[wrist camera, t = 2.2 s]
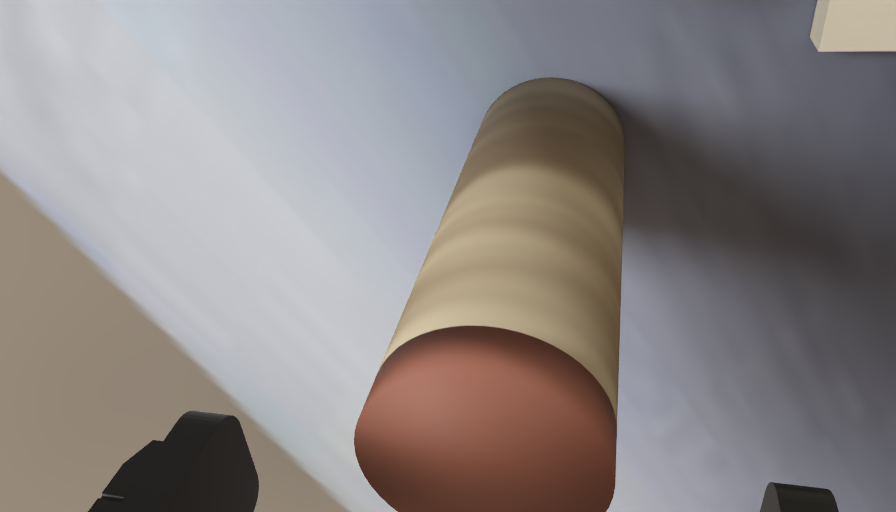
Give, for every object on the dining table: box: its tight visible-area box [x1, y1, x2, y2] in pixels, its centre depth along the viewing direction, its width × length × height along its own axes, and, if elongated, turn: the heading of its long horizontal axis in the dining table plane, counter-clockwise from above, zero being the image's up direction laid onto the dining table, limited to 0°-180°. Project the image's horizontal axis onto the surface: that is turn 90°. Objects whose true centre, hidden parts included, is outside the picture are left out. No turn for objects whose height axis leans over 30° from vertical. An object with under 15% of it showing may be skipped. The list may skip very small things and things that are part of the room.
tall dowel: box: [354, 78, 625, 512], centre depth 15 cm, size 4×4×11 cm
